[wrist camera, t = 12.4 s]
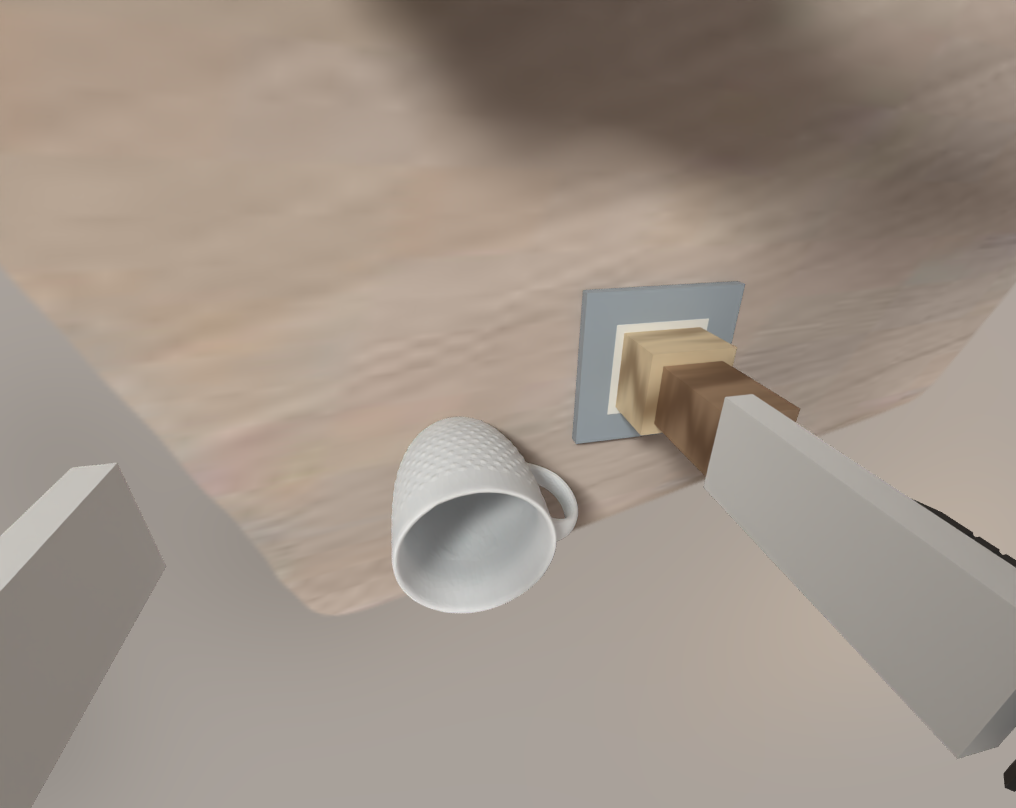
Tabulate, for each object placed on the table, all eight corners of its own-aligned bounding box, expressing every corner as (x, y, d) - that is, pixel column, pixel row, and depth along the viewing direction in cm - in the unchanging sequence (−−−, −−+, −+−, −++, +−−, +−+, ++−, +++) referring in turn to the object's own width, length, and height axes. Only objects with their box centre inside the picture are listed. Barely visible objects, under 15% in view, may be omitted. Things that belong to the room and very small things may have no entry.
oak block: (624, 332, 39) (653, 354, 35) (700, 327, 40) (737, 347, 36) (615, 407, 42) (640, 435, 38) (685, 399, 43) (718, 426, 39)
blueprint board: (583, 290, 38) (587, 293, 37) (737, 281, 40) (745, 284, 39) (572, 438, 44) (576, 444, 43) (705, 422, 47) (712, 427, 46)
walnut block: (663, 366, 35) (728, 417, 28) (722, 360, 36) (800, 408, 29) (654, 423, 38) (712, 483, 31) (710, 417, 39) (779, 473, 32)
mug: (568, 408, 43) (631, 499, 31) (535, 504, 47) (580, 614, 36) (402, 385, 38) (405, 481, 27) (383, 494, 43) (379, 615, 31)
